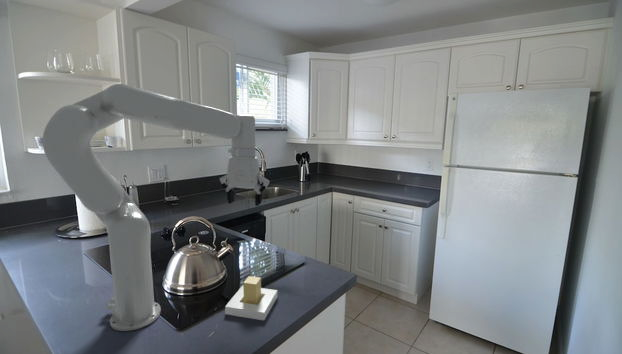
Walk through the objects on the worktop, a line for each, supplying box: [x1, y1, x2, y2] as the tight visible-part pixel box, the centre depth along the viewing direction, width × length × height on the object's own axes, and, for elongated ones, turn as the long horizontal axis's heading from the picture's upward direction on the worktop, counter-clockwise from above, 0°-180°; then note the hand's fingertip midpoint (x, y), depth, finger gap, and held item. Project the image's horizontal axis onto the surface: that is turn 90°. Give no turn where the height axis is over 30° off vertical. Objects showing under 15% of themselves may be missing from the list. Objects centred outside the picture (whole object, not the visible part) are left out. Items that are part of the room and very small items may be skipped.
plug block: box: [242, 275, 262, 305], centre depth 93 cm, size 4×4×8 cm
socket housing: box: [224, 284, 278, 321], centre depth 94 cm, size 12×12×2 cm
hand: (244, 203), depth 103 cm, fingers open, 9 cm apart
